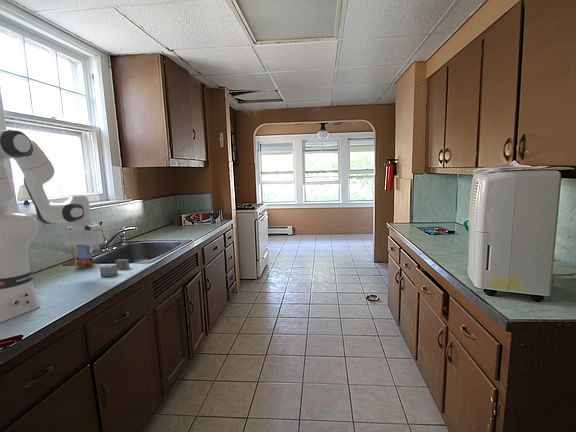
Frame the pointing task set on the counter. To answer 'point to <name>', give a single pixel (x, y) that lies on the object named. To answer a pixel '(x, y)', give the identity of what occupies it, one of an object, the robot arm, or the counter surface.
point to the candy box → (82, 260)
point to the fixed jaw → (122, 263)
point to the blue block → (83, 251)
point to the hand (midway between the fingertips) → (84, 253)
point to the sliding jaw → (108, 270)
